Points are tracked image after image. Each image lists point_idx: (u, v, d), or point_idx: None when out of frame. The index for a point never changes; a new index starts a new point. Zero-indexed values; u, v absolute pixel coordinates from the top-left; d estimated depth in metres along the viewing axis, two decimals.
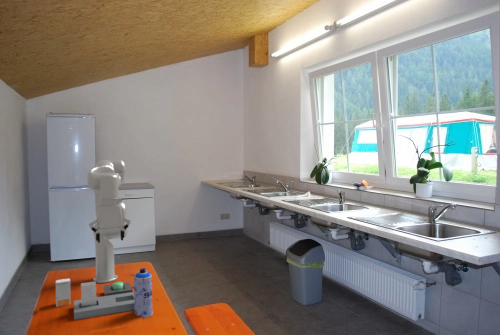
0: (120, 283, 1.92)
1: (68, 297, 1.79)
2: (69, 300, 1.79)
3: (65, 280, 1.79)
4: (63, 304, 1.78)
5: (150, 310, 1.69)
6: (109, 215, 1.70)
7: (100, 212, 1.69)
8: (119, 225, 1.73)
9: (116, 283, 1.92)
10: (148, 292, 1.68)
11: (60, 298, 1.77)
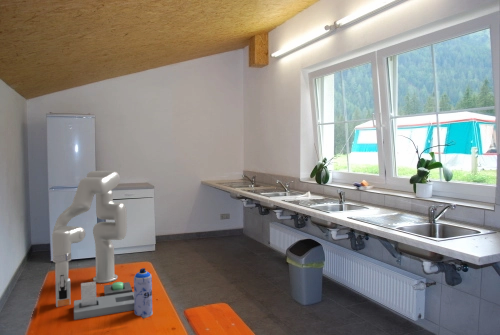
0: (120, 283, 1.92)
1: (68, 297, 1.78)
2: (69, 300, 1.79)
3: None
4: (63, 304, 1.78)
5: (150, 310, 1.69)
6: (68, 268, 1.79)
7: (67, 267, 1.76)
8: None
9: (116, 283, 1.92)
10: (148, 292, 1.68)
11: None
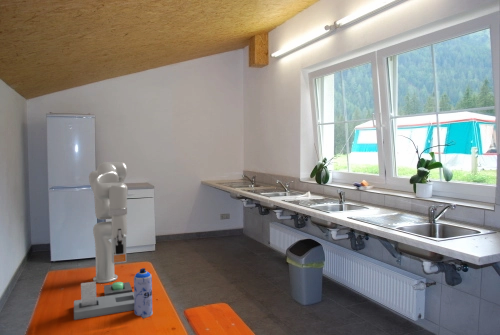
0: (120, 283, 1.92)
1: (124, 252, 1.76)
2: (125, 255, 1.76)
3: None
4: (119, 259, 1.75)
5: (150, 310, 1.69)
6: None
7: (124, 221, 1.73)
8: None
9: (116, 283, 1.92)
10: (148, 292, 1.68)
11: None
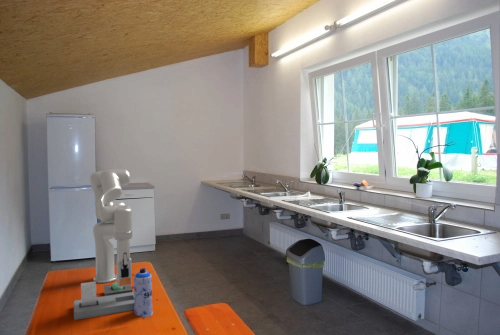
0: None
1: (129, 276, 1.76)
2: (130, 279, 1.77)
3: None
4: (125, 283, 1.75)
5: (150, 310, 1.69)
6: None
7: (129, 245, 1.74)
8: None
9: (116, 283, 1.92)
10: (148, 292, 1.68)
11: None
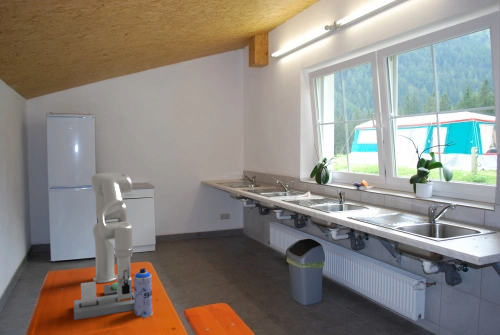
0: None
1: (129, 296, 1.77)
2: (130, 299, 1.77)
3: None
4: None
5: (150, 310, 1.69)
6: None
7: (129, 262, 1.74)
8: None
9: (116, 283, 1.92)
10: (148, 292, 1.68)
11: (122, 297, 1.76)
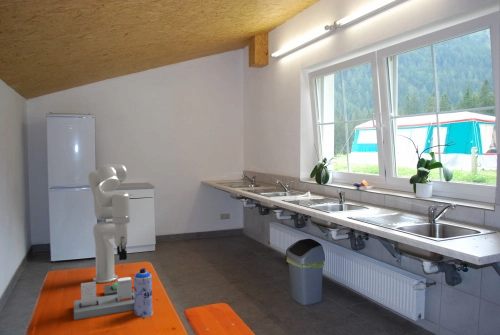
0: None
1: (129, 296, 1.77)
2: (130, 299, 1.77)
3: (126, 279, 1.78)
4: None
5: (150, 310, 1.69)
6: None
7: None
8: None
9: (116, 283, 1.92)
10: (148, 292, 1.68)
11: (122, 297, 1.76)
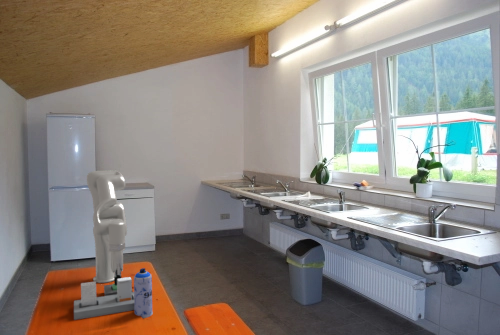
0: None
1: (129, 296, 1.77)
2: (130, 299, 1.77)
3: (126, 279, 1.78)
4: None
5: (150, 310, 1.69)
6: None
7: (122, 256, 1.88)
8: None
9: None
10: (148, 292, 1.68)
11: (122, 297, 1.76)
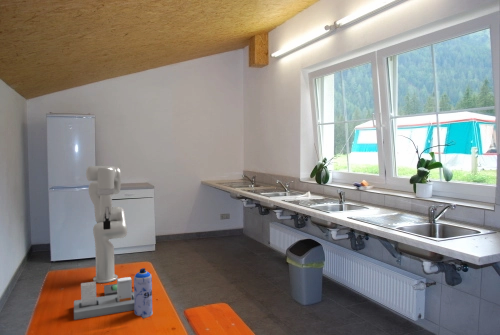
0: None
1: (129, 296, 1.77)
2: (130, 299, 1.77)
3: (126, 279, 1.78)
4: None
5: (150, 310, 1.69)
6: None
7: (111, 200, 1.91)
8: None
9: (116, 285, 1.92)
10: (148, 292, 1.68)
11: (122, 297, 1.76)
